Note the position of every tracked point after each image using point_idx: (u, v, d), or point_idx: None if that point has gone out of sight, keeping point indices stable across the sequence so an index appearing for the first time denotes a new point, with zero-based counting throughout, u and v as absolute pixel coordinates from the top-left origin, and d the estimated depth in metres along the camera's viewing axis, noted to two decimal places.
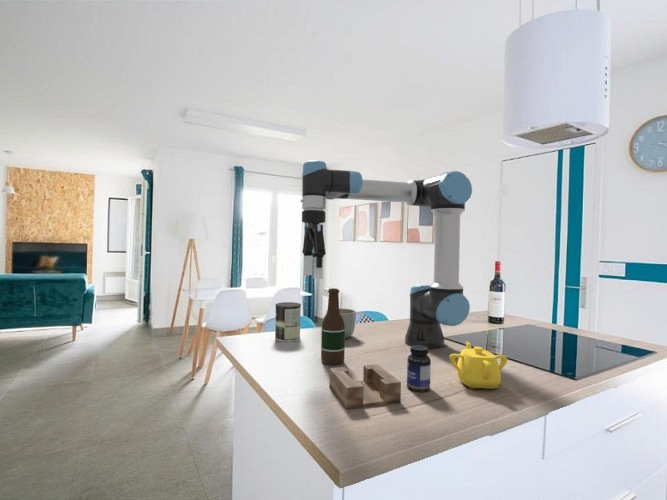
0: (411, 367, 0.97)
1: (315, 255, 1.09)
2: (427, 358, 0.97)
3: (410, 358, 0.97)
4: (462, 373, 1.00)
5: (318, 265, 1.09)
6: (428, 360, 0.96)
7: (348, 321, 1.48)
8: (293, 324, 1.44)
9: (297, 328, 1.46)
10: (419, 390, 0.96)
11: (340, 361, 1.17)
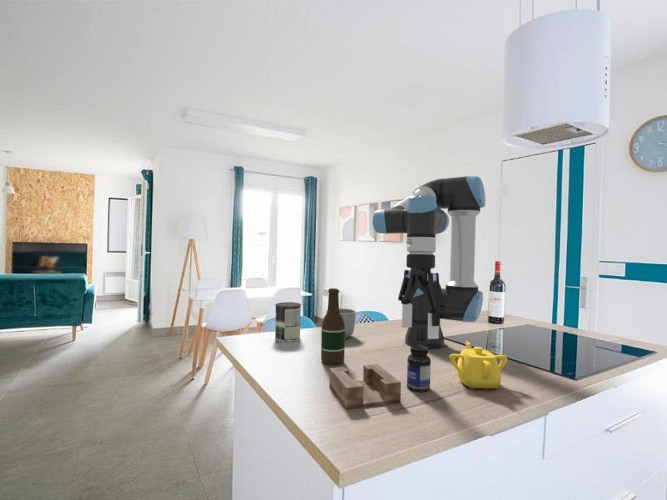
0: (411, 367, 0.97)
1: (432, 311, 0.90)
2: (427, 358, 0.97)
3: (410, 358, 0.97)
4: (462, 374, 1.00)
5: (435, 323, 0.90)
6: (428, 360, 0.96)
7: (348, 321, 1.48)
8: (293, 324, 1.44)
9: (297, 328, 1.46)
10: (419, 390, 0.96)
11: (340, 361, 1.17)
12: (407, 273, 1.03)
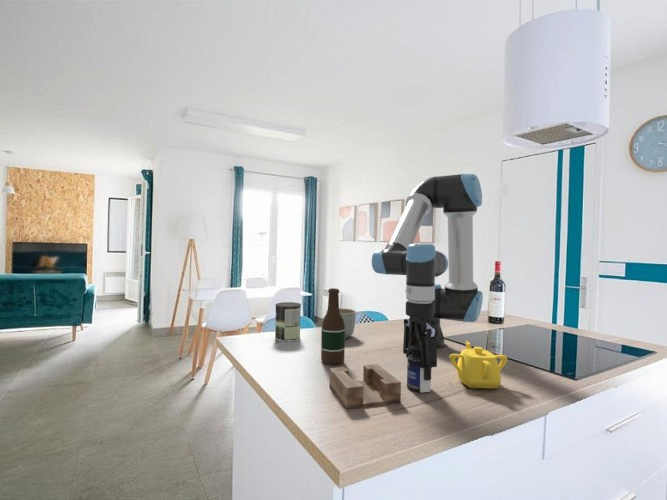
0: (411, 367, 0.97)
1: (423, 367, 0.94)
2: None
3: (410, 358, 0.97)
4: (462, 374, 1.00)
5: (427, 378, 0.94)
6: None
7: (348, 321, 1.48)
8: (293, 324, 1.44)
9: (297, 328, 1.46)
10: (419, 390, 0.96)
11: (340, 361, 1.17)
12: (407, 322, 1.03)
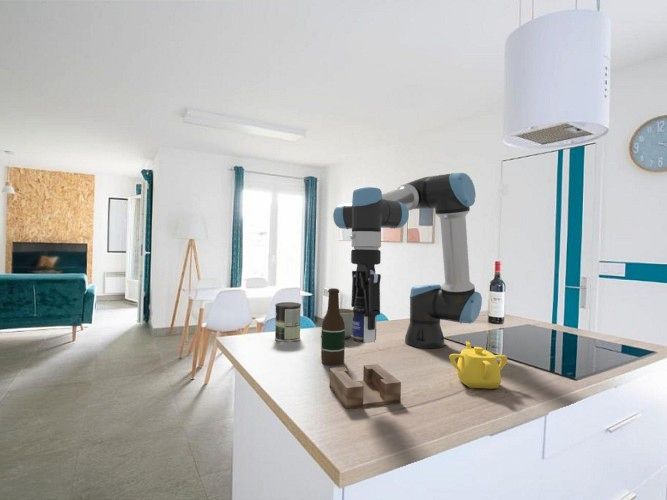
0: (355, 317, 0.92)
1: (367, 315, 0.89)
2: None
3: (355, 308, 0.92)
4: (462, 373, 1.00)
5: (370, 327, 0.89)
6: None
7: (348, 321, 1.48)
8: (293, 324, 1.44)
9: (297, 328, 1.46)
10: (363, 341, 0.91)
11: (340, 361, 1.17)
12: (355, 273, 0.98)
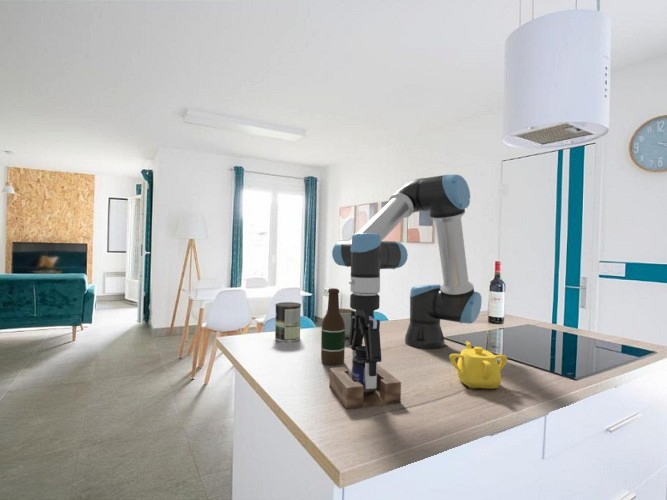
0: (354, 368, 0.92)
1: (368, 362, 0.87)
2: None
3: (354, 359, 0.93)
4: (462, 373, 1.00)
5: (372, 373, 0.88)
6: None
7: (348, 321, 1.48)
8: (293, 324, 1.44)
9: (297, 328, 1.46)
10: None
11: (340, 361, 1.17)
12: (354, 314, 0.99)
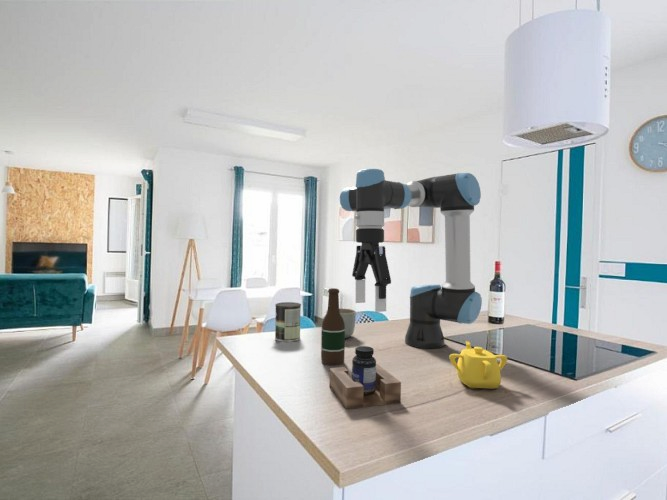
0: (354, 369, 0.92)
1: (378, 284, 0.90)
2: (372, 360, 0.92)
3: (354, 359, 0.93)
4: (462, 374, 1.00)
5: (381, 296, 0.91)
6: (372, 362, 0.92)
7: (348, 321, 1.48)
8: (293, 324, 1.44)
9: (297, 328, 1.46)
10: None
11: (340, 361, 1.17)
12: (359, 249, 1.03)
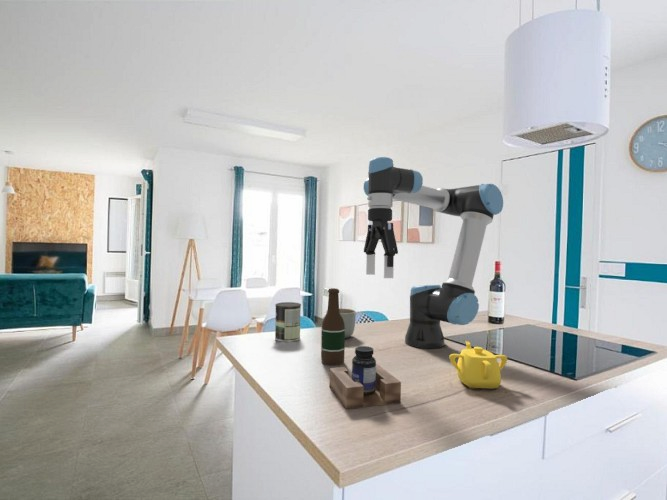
0: (354, 369, 0.92)
1: (387, 254, 1.06)
2: (372, 360, 0.92)
3: (354, 360, 0.93)
4: (462, 373, 1.00)
5: (389, 264, 1.06)
6: (372, 362, 0.92)
7: (348, 321, 1.48)
8: (293, 324, 1.44)
9: (297, 328, 1.46)
10: None
11: (340, 361, 1.17)
12: (370, 227, 1.19)
